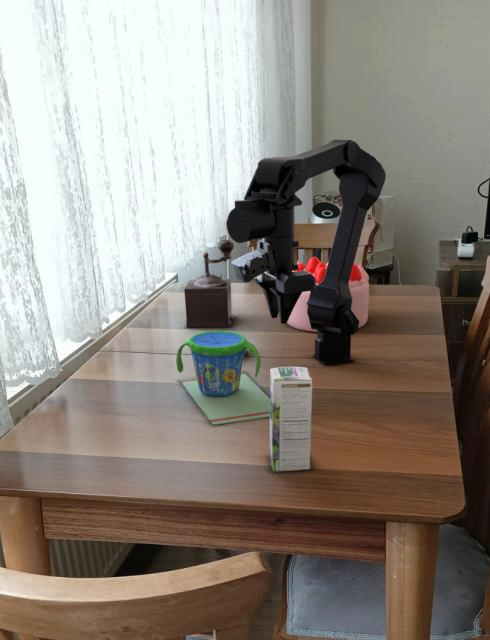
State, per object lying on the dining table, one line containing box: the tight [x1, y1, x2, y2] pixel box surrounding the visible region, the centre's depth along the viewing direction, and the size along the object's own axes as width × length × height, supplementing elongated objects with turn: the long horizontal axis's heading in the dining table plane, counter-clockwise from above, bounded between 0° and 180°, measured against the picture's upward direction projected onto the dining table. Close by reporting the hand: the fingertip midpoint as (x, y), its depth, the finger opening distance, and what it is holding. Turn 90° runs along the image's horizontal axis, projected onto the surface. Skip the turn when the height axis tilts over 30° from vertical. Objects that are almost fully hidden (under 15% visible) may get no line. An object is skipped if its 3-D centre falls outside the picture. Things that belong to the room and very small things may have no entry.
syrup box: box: [269, 366, 313, 473], centre depth 115 cm, size 6×6×14 cm
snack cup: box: [175, 330, 261, 396], centre depth 144 cm, size 16×10×10 cm
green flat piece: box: [179, 370, 270, 426], centre depth 144 cm, size 13×24×1 cm, turn 18°
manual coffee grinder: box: [184, 239, 235, 329], centre depth 188 cm, size 16×11×18 cm
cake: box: [286, 256, 370, 333], centre depth 184 cm, size 20×20×14 cm
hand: (278, 320), depth 146 cm, fingers open, 4 cm apart
